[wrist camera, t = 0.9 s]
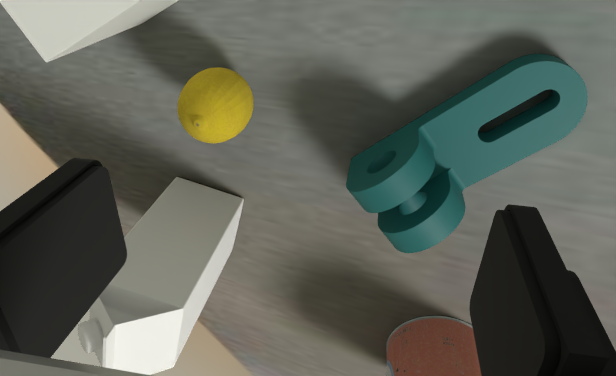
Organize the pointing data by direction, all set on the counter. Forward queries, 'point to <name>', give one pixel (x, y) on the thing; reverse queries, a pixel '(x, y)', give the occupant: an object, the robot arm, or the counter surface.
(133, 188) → the counter surface
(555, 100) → the bracket
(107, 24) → the ticket dispenser
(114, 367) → the milk carton
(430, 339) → the canned food
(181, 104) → the lemon
